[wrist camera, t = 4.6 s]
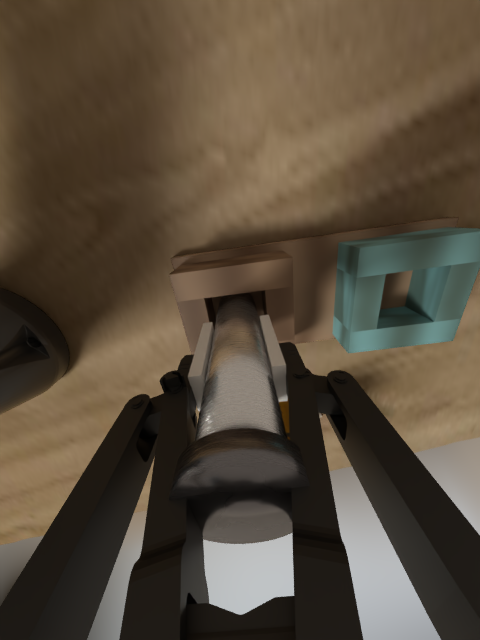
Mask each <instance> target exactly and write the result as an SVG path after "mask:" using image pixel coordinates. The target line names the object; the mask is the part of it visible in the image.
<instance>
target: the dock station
mask: <svg viewBox="0 0 480 640" xmlns="http://www.w3.org/2000/svg"><path fill="white" fill-rule="evenodd" d="M458 218H459V217H446V218H439V219H432V220H425V221H418V222H411V223H404V224H397V225H390V226H384V227H377V228H370V229H363V230H356V231H349V232H342V233H335V234H328V235H321V236H314V237H307V238H300V239H293V240H286V241H279V242H272V243H265V244H258V245H251V246H244V247H237V248H230V249H223V250H216V251H209V252H202V253H195V254H188V255H181V256H174V257H173V258H171V261H172V265H173V268H174V271H173V272H172V273H170V274H169V277H170V280H171V284H172V287H173V291H174V294H175V298H176V301H177V305H178V308H179V312H180V315H181V319H182V322H183V326H184V329H185V333H186V336H187V340H188V343H189V347H190V350H191V354H192V355H193V354H195V350H196V347H197V343H198V340H199V336H200V333H201V329H202V326H203V323H209V322H212V323H213V328H214V330H215V324H216V318H217V313H218V307H219V302H220V299H221V297H222V296H225V295H233V294H240V293H250V294H251V295H252V297H253V298H254V301H255V304H256V308H257V313H258V317H259V321H260V316H262V315H269V317H270V320H271V323H272V326H273V329H274V332H275V335H276V338H277V340H278V343H284V342H291V343H293V344H294V345H295V344H298V343H306V342H314V341H322V340H330V339H337V340H338V341H339V343H340V344H341V345H342V346H343V347H344V349H345V350H346V351H347V352H348V353H355V352H363V351H371V350H380V349H388V348H396V347H405V346H413V345H421V344H430V343H438V342H447V341H453V339H454V337H455V334H456V331H457V328H458V326H459V323H460V320H461V317H462V315H463V312H464V309H465V306H466V304H467V301H468V298H469V295H470V293H471V290H472V287H473V284H474V282H475V279H476V276H477V273H478V271H479V268H480V229H476V228H457V227H456V225H457V222H458Z"/></svg>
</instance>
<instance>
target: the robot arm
mask: <svg viewBox="0 0 480 640" xmlns="http://www.w3.org/2000/svg"><path fill="white" fill-rule="evenodd" d="M260 326H261V330H262V334H263V338H264V343H265V347H266V351H267V355H268V360H269V364H270V368H271V372H272V376H273V380H274V384H275V388H276V392H277V397H278V401H279V402H283V401H289V432H290V440H291V441H293V442H294V443H295V444H296V445H297V446H298V447H299V448H300V451H301V455H302V459H303V462H304V466H305V469H306V473H307V476H308V480H309V483H310V486H305V487H295V488H291V495H292V527H293V565H294V596H287V597H276V598H273V599H271V600H269V601H268V602H266V603H264V604H262V605H260V606H258V607H257V608H255V609H253V610H251V611H249V612H247V613H245V614H243V615H238V614H235V613H233V612H230V611H227V610H225V609H222V608H219V607H217V606H214V605H211V604H209V596H208V588H207V583H206V577H205V569H204V551H203V533H202V530H201V528H200V526H199V524H198V522H197V520H196V518H195V516H194V513H193V511H192V509H191V507H190V505H189V503H188V501H187V498H186V499H176V500H169V495H170V491H171V487H172V482H173V478H174V474H175V470H176V465H177V461H178V458H179V457H180V455H181V453H182V452H183V451H184V450H185V448H187V447H188V446H189V445H190V444H191V443H193V442H194V441H195V435H196V430H197V416H196V413H195V410H196V405H197V408H198V411H200V408H201V402H202V396H203V391H204V385H205V380H206V374H207V369H208V363H209V357H210V352H211V346H212V341H213V335H214V328H213V323H212V322H209V323H203V326H202V329H201V333H200V336H199V340H198V343H197V347H196V350H195V354H193V355H185V356H184V358H183V359H182V360H181V362H180V364H179V367H178V370H176V371H171V372H168V373H166V374H165V375H164V376H163V377H162V378H161V379H160V384H161V386H162V389H163V391H164V393H163V394H161V395H159V396H156V397H153V398H151V399H150V397H149V396H148V395H147V394H141V395H137V396H135V397H133V398H132V399H130V400H129V401H128V402H127V404H126V405H125V407H124V408H123V410H122V411H121V413H120V415H119V416H118V418H117V419H116V421H115V423H114V424H113V426H112V428H111V429H110V431H109V432H108V434H107V436H106V437H105V439H104V440H103V442H102V444H101V445H100V447H99V448H98V450H97V452H96V453H95V455H94V456H93V458H92V460H91V461H90V463H89V465H88V466H87V468H86V469H85V471H84V473H83V474H82V476H81V477H80V479H79V481H78V482H77V484H76V485H75V487H74V489H73V490H72V492H71V494H70V495H69V497H68V498H67V500H66V502H65V503H64V505H63V506H62V508H61V510H60V511H59V513H58V514H57V516H56V518H55V519H54V521H53V523H52V524H51V526H50V527H49V529H48V531H47V532H46V534H45V535H44V537H43V539H42V540H41V542H40V543H39V545H38V547H37V548H36V550H35V552H34V553H33V555H32V556H31V558H30V560H29V561H28V563H27V564H26V566H25V568H24V569H23V571H22V572H21V574H20V576H19V577H18V579H17V580H16V582H15V584H14V585H13V587H12V589H11V590H10V592H9V593H8V595H7V597H6V598H5V600H4V601H3V603H2V605H1V606H0V640H87V638H88V635H89V632H90V629H91V627H92V624H93V621H94V619H95V616H96V613H97V610H98V608H99V605H100V602H101V600H102V597H103V594H104V592H105V589H106V586H107V584H108V581H109V578H110V575H111V572H112V570H113V567H114V564H115V562H116V559H117V556H118V554H119V551H120V548H121V546H122V543H123V540H124V537H125V535H126V532H127V529H128V527H129V524H130V521H131V518H132V515H133V513H134V510H135V508H136V505H137V502H138V500H139V497H140V494H141V491H142V489H143V486H144V483H145V481H146V478H147V475H148V473H149V470H150V467H151V464H152V462H153V459H154V456H155V460H154V467H153V474H152V481H151V488H150V495H149V503H148V510H147V517H146V524H145V531H144V539H143V546H142V551H141V556H140V558H139V559H138V561H137V562H136V563H135V564H134V566H133V569H132V571H131V576H130V580H129V585H128V591H127V597H126V603H125V609H124V615H123V621H122V627H121V633H120V639H119V640H363V636H362V631H361V625H360V620H359V615H358V610H357V604H356V599H355V594H354V588H353V583H352V577H351V572H350V567H349V562H348V557H347V553H346V549H345V546H344V544H343V542H342V539H341V535H340V530H339V525H338V519H337V513H336V508H335V502H334V496H333V491H332V485H331V479H330V474H329V468H328V463H327V457H326V451H325V446H324V440H323V434H322V429H321V423H320V418H319V413H324V414H326V416H327V418H328V420H329V422H330V424H331V426H332V428H333V430H334V431H335V433H336V435H337V437H338V439H339V441H340V443H341V445H342V447H343V449H344V451H345V453H346V455H347V457H348V459H349V461H350V463H351V465H352V467H353V469H354V471H355V473H356V475H357V477H358V479H359V480H360V482H361V484H362V486H363V488H364V490H365V492H366V494H367V496H368V498H369V500H370V502H371V504H372V506H373V508H374V510H375V512H376V514H377V516H378V518H379V519H380V522H381V523H382V526H383V528H384V530H385V531H386V533H387V536H388V537H389V539H390V541H391V543H392V545H393V547H394V549H395V551H396V553H397V555H398V557H399V559H400V561H401V563H402V565H403V567H404V569H405V571H406V573H407V575H408V577H409V579H410V581H411V583H412V585H413V586H414V589H415V591H416V593H417V594H418V596H419V598H420V600H421V602H422V604H423V606H424V608H425V610H426V612H427V614H428V616H429V618H430V620H431V621H432V623H433V625H434V627H435V629H436V631H437V633H438V634H439V636H440V638H441V640H480V535H479V534H478V533H477V532H476V530H475V529H474V528H473V527H472V525H471V524H470V523H469V522H468V520H467V519H466V518H465V517H464V515H463V514H462V513H461V512H460V510H459V509H458V508H457V507H456V505H455V504H454V503H453V502H452V500H451V499H450V498H449V497H448V495H447V494H446V493H445V492H444V490H443V489H442V488H441V486H440V485H439V484H438V483H437V481H436V480H435V479H434V478H433V477H432V476H431V474H430V473H429V471H428V470H427V469H426V468H425V466H424V465H423V464H422V463H421V461H420V460H419V459H418V458H417V456H416V455H415V454H414V453H413V451H412V450H411V449H410V448H409V446H408V445H407V444H406V443H405V441H404V440H403V439H402V438H401V436H400V435H399V434H398V433H397V431H396V430H395V429H394V428H393V426H392V425H391V424H390V423H389V421H388V420H387V419H386V418H385V416H384V415H383V414H382V413H381V411H380V410H379V409H378V408H377V406H376V405H375V404H374V403H373V401H372V400H371V399H370V398H369V396H368V395H367V394H366V393H365V391H364V390H363V389H362V388H361V386H360V385H359V384H358V383H357V381H356V380H355V379H354V378H353V376H351V375H350V374H349V373H347V372H345V371H340V370H335V371H331V372H330V373H329V374H328V376H327V377H326V376H318V375H314V374H312V373H311V372H310V371H309V370H308V369H307V368H305V366H304V363H303V361H302V359H301V357H300V355H299V353H298V351H297V348H296V346H295V345H294V344H293V343H291V342H284V343H278V340H277V338H276V335H275V332H274V329H273V326H272V323H271V320H270V317H269V315H262V316H260ZM68 365H69V351H68V347H67V344H66V341H65V339H64V337H63V335H62V334H61V332H60V330H59V329H58V328H57V326H56V325H55V324H54V323H53V321H52V320H51V319H50V318H49V317H48V316H47V315H46V314H45V313H43V312H42V311H41V310H40V309H39V308H37V307H36V306H35V305H33V304H32V303H30V302H29V301H27V300H25V299H24V298H22V297H20V296H18V295H16V294H14V293H12V292H10V291H7V290H5V289H2V288H0V414H2V413H4V412H6V411H8V410H10V409H12V408H14V407H16V406H18V405H20V404H22V403H24V402H26V401H28V400H30V399H32V398H34V397H36V396H38V395H40V394H42V393H44V392H45V391H47V390H48V389H49V388H50V387H51V386H53V385H54V384H55V383H56V382H57V381H58V380H59V379H60V378H61V377H62V376H63V375H64V374H65V372H66V370H67V368H68ZM287 396H288V398H287Z"/></svg>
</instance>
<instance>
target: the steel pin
mask: <svg viewBox="0 0 480 640" xmlns="http://www.w3.org/2000/svg"><path fill="white" fill-rule="evenodd" d="M305 486H310V483H309V480H308V476H307V473H306V469H305V466H304V462H303V459H302V455H301V451H300V448H299V447H298V446H297V445H296V444H295V443H294V442H293V441H291V440H289V439H288V438H287V434H286V430H285V426H284V422H283V418H282V413H281V409H280V405H279V401H278V397H277V392H276V388H275V384H274V380H273V376H272V372H271V368H270V364H269V360H268V355H267V351H266V347H265V343H264V338H263V334H262V330H261V326H260V321H259V317H258V313H257V308H256V304H255V301H254V298H253V297H252V295H251V294H250V293H240V294H233V295H225V296H222V297H221V299H220V302H219V307H218V313H217V318H216V324H215V330H214V335H213V341H212V346H211V352H210V357H209V363H208V369H207V374H206V380H205V385H204V391H203V396H202V402H201V408H200V413H199V419H198V424H197V430H196V435H195V441H194V442H193V443H191V444H190V445H189V446H188V447H187V448H185V450H184V451H183V452H182V453H181V455H180V457H179V458H178V461H177V465H176V470H175V474H174V478H173V482H172V487H171V491H170V495H169V500H176V499H186V498H187V501H188V503H189V505H190V507H191V509H192V511H193V513H194V516H195V518H196V520H197V522H198V524H199V526H200V528H201V530H202V533H203V539H204V540H208V541H213V542H220V543H230V544H245V543H257V542H263V541H269V540H273V539H277V538H279V537H283V536H285V535H288V534H290V533H292V532H293V527H292V495H291V488H295V487H305Z"/></svg>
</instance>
